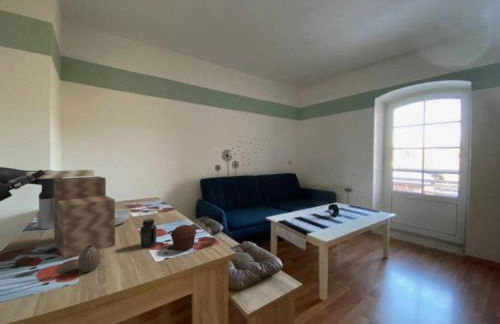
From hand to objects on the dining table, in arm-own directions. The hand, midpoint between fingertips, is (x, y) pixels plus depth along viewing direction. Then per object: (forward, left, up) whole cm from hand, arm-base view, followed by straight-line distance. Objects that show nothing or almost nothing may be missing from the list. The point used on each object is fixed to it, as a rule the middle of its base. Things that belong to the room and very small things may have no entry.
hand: (43, 171), depth 91 cm
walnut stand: (+14, +3, -35) cm, 38 cm away
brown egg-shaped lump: (+30, -22, -35) cm, 51 cm away
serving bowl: (+13, +32, -35) cm, 49 cm away
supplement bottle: (+45, -3, -35) cm, 57 cm away
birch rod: (+5, +4, -3) cm, 7 cm away
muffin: (+62, -8, -35) cm, 72 cm away
